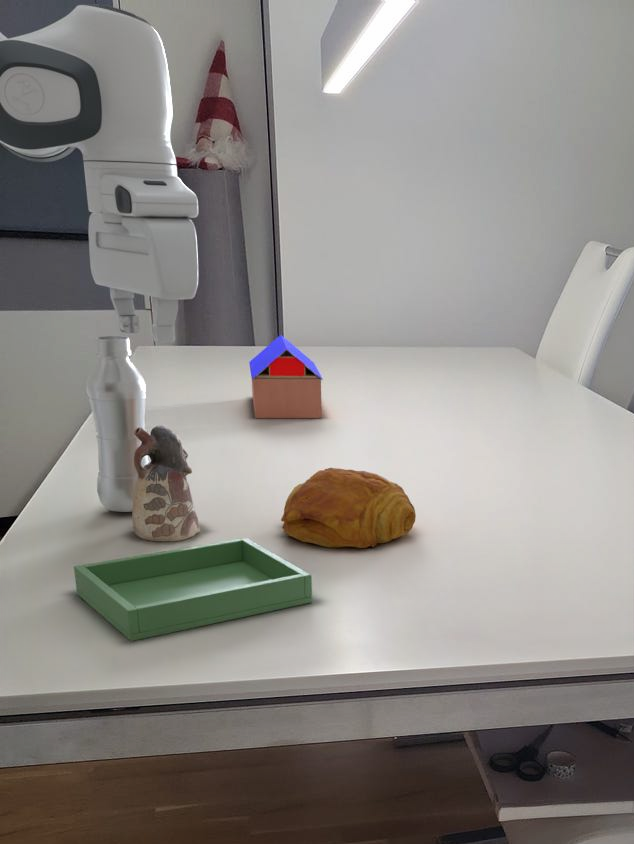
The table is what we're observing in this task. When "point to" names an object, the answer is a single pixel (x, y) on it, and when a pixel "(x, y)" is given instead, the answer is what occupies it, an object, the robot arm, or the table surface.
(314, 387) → the house
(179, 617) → the green tray
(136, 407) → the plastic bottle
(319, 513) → the croissant
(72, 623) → the table surface
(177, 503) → the figurine
